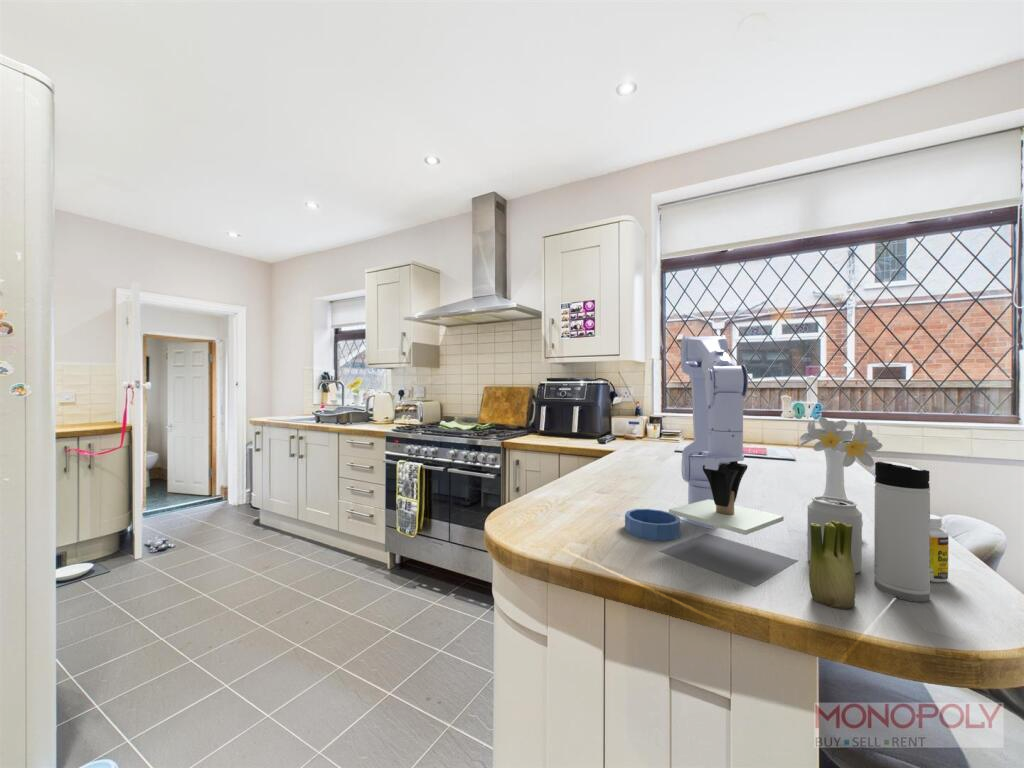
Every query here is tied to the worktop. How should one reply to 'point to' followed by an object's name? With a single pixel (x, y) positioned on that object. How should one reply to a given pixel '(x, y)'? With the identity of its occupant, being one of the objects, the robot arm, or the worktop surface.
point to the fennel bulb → (832, 565)
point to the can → (839, 511)
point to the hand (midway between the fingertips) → (725, 503)
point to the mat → (730, 558)
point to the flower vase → (841, 450)
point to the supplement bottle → (938, 550)
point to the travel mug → (902, 532)
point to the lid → (727, 516)
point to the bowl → (652, 524)
